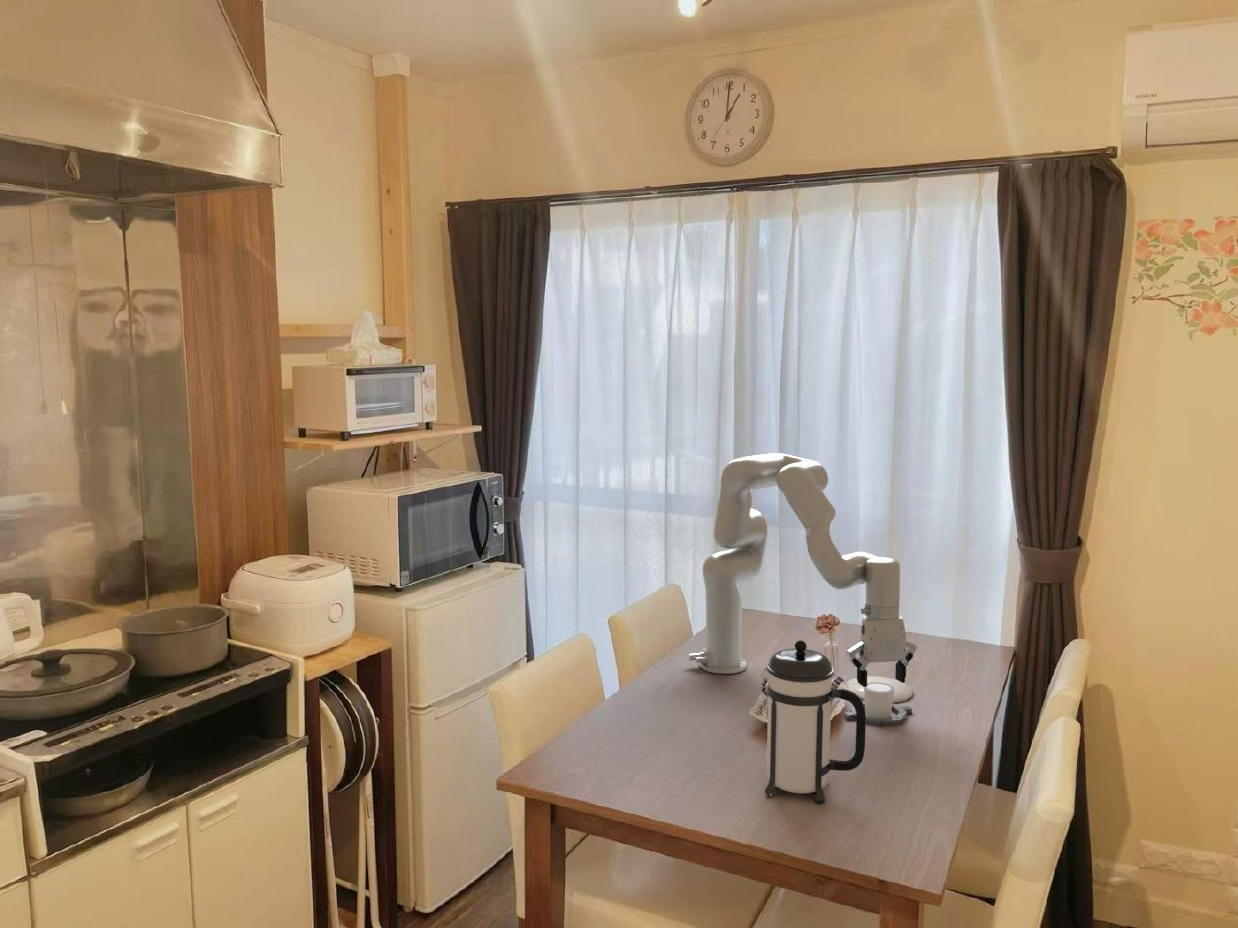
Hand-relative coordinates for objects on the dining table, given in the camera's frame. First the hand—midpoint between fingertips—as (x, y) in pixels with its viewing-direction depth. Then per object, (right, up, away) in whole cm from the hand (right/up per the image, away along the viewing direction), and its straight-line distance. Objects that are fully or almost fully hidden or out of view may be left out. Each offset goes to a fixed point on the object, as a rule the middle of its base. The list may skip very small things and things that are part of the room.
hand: (881, 682), depth 217 cm
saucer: (+4, -6, +17) cm, 18 cm away
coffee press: (-25, -13, -34) cm, 44 cm away
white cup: (0, -8, +2) cm, 8 cm away
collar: (0, -8, +2) cm, 8 cm away
